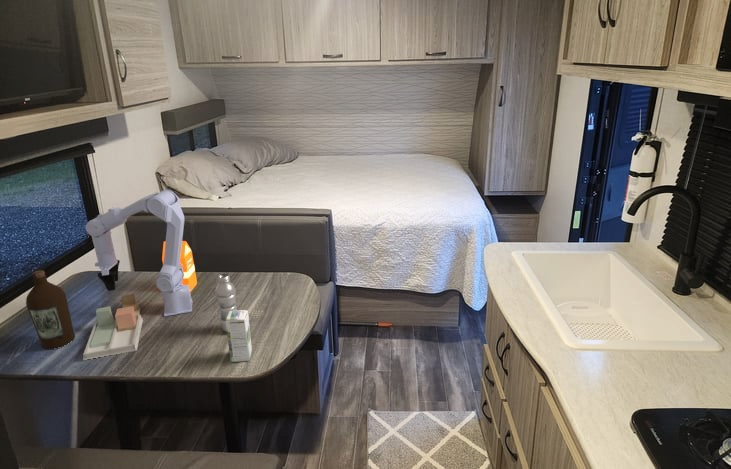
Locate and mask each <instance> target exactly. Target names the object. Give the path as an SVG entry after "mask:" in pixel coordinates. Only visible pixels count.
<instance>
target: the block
mask: <svg viewBox="0 0 731 469" xmlns="http://www.w3.org/2000/svg"><path fill="white" fill-rule="evenodd" d="M114 318H115V320H116V322H117V326H118V329H122V328H127V327H133V326H135V322H136V316H135V311H134V307H133V306H131V307H125V308H123V307H120V308H117V309H116V311H115V315H114Z"/></svg>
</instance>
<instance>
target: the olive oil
mask: <svg viewBox="0 0 731 469" xmlns="http://www.w3.org/2000/svg"><path fill="white" fill-rule="evenodd" d="M31 275H32V279H33V283H34V286H33V287H32V288H31V289H30V291H28V293H27V295H26V298H25V305H26V309H27V312H28V314H29V316H30V318H31V320H32V323H33V326H34V329H35V331H36V333H37V336H38V340H39V343H40V345H41V348H43V349H45V350H55V349H54V348H57V349H59V348H58V347H61V348H63V347H65V346H64V345H66V346H67V344H68V343H69V344H71V343H72V342H73V341H75V339H76V334H75V330H74V325H73V323H72V322H73V321H72V317H71V313H70V309H69V303H68V299H67V295H66V293H65V291H64V290H63V288H61V287H60V286H58V285H56V284H53V283H52V282H49V281H48V279H47V275H46V274H45V270H35V271H34V272H32V273H31ZM74 338H75V339H74ZM71 341H72V342H71ZM70 342H71V343H70ZM69 344H68V345H69ZM62 346H63V347H62Z"/></svg>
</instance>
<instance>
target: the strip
mask: <svg viewBox="0 0 731 469" xmlns="http://www.w3.org/2000/svg"><path fill="white" fill-rule="evenodd" d="M95 315H96V319H97V323H98V325H97V328H96V331H95V333H94V336H93V339H92V342H91V345H90V346H91V348H93V347H99V346H104V345H109V344H110V341H111V338H112V334H113V331H114V327H115V324H116V319H114V316H113V313H112V309H111V306H105V307H98V308H96V311H95Z"/></svg>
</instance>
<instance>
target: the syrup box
mask: <svg viewBox="0 0 731 469" xmlns="http://www.w3.org/2000/svg"><path fill="white" fill-rule="evenodd" d="M225 322H226V330H227V332H226V335H227V343H228V352H229V358H230V362H231V363H235V362H237V363H238V362H249V361H250V359H251V358H252V357H251V355H252V351H253V346H252V345H253V343H252V334H251V328H250V318H249V311H248V310H244V309H240V310H239V309H237V310H234V311H229V313H228V316H227V319H226V321H225Z"/></svg>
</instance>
